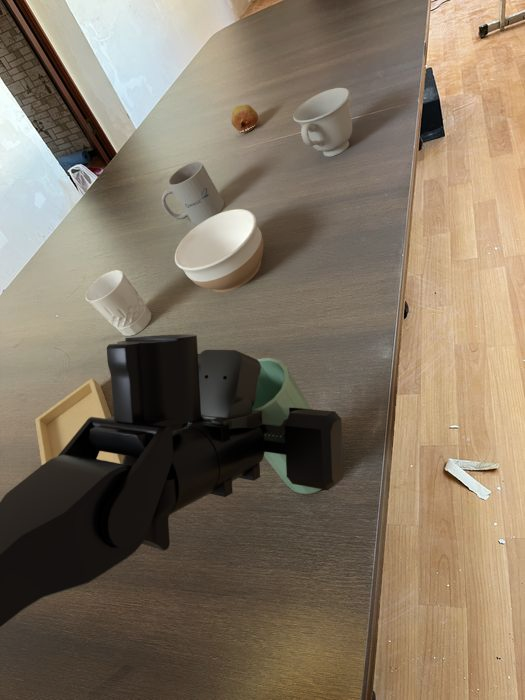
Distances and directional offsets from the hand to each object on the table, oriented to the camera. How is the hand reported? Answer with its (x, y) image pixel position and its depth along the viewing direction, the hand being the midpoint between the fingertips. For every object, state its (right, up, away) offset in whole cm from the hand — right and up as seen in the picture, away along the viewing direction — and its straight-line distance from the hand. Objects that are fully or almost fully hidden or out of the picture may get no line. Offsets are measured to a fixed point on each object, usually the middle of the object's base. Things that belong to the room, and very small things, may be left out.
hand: (288, 419), depth 52 cm
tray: (-29, -9, +21) cm, 37 cm away
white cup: (-27, +12, +41) cm, 50 cm away
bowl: (-8, +22, +38) cm, 45 cm away
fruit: (-6, +68, +82) cm, 107 cm away
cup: (+3, -6, +4) cm, 8 cm away
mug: (-17, +38, +61) cm, 74 cm away
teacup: (+12, +49, +53) cm, 73 cm away
